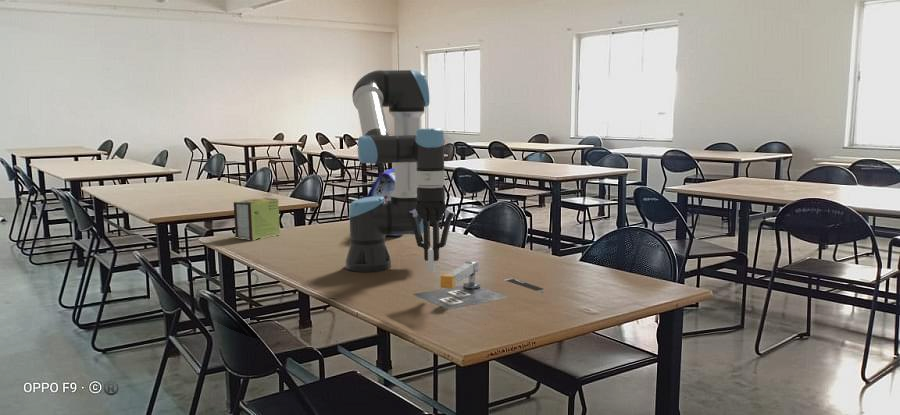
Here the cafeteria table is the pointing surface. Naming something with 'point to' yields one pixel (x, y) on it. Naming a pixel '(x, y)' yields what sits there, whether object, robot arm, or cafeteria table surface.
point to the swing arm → (459, 274)
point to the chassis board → (470, 287)
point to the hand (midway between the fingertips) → (432, 272)
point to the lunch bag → (384, 186)
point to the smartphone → (525, 285)
